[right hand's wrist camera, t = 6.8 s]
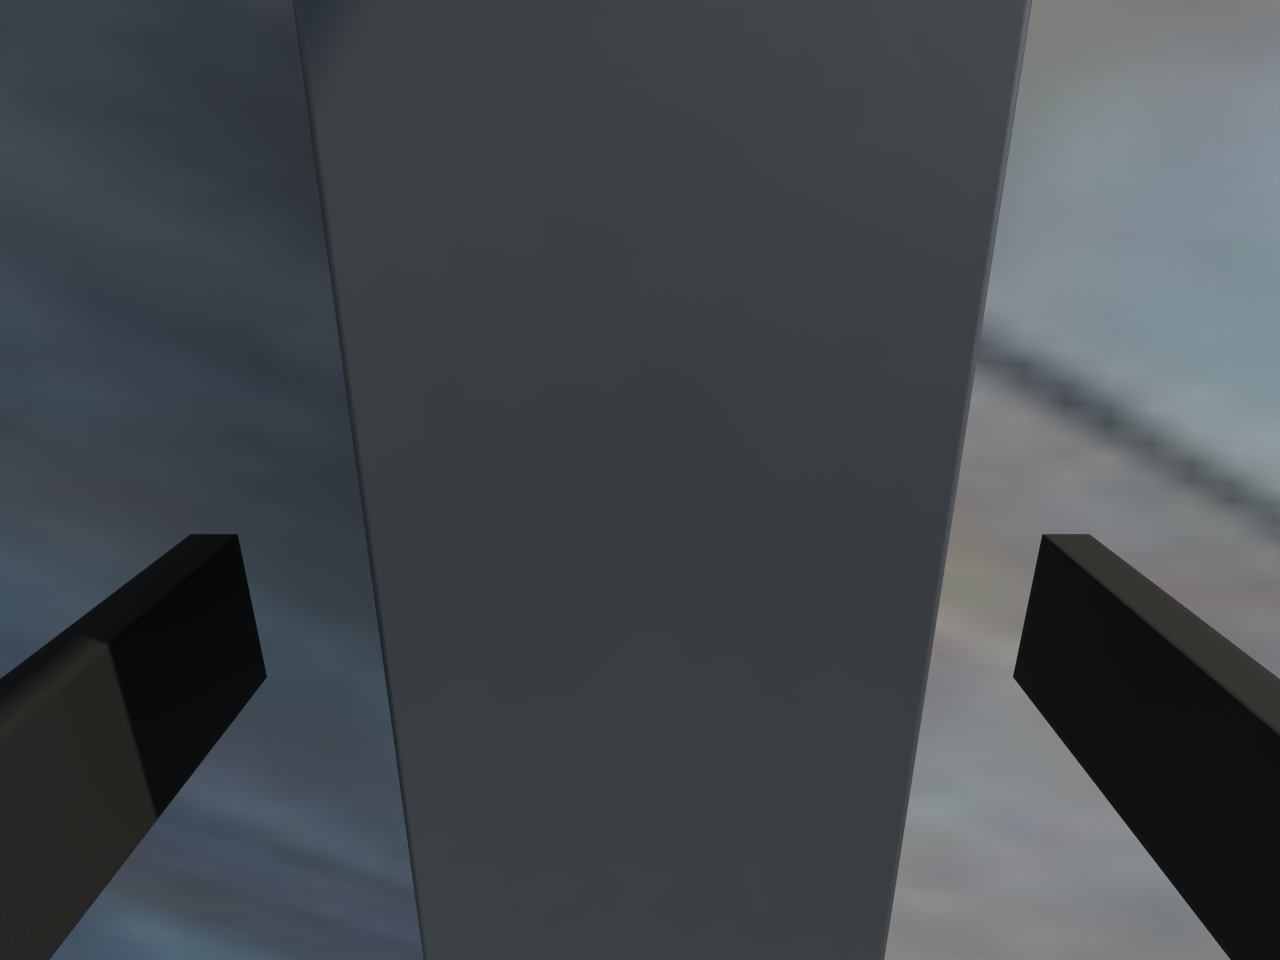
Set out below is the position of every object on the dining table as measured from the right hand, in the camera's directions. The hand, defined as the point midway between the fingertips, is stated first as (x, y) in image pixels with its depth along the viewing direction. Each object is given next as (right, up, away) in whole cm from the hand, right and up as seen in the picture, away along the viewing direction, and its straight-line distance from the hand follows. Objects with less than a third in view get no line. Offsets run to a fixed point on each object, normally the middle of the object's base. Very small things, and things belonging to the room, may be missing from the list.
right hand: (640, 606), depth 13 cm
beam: (0, +12, -2) cm, 12 cm away
